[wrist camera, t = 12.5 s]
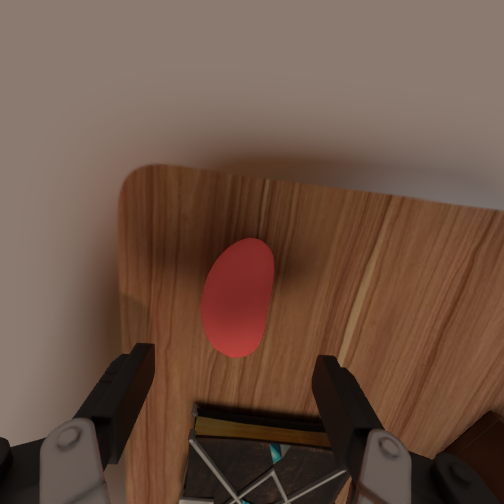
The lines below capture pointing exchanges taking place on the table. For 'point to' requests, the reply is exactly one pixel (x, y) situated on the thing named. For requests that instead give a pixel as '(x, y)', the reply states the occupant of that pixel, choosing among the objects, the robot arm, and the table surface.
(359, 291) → the table surface
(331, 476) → the book
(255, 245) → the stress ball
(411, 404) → the table surface
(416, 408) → the table surface
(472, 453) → the chest
